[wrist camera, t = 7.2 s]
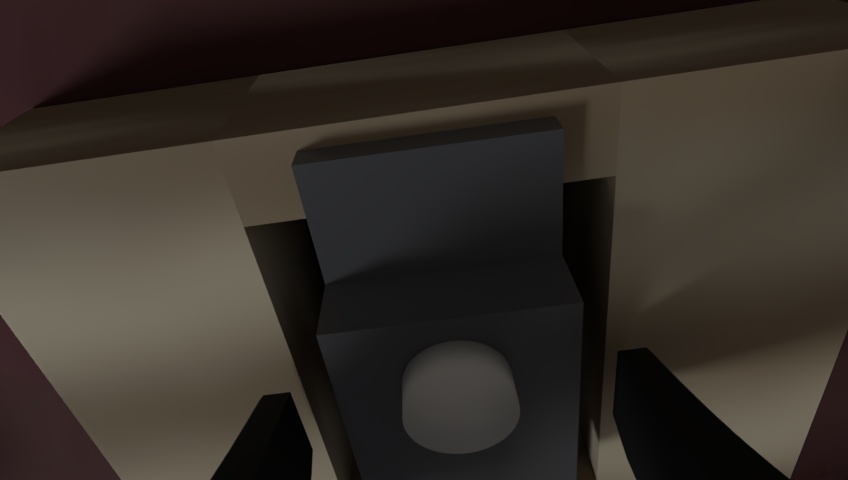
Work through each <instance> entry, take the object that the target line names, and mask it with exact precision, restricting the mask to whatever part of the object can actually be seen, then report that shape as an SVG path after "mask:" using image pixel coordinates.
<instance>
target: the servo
mask: <svg viewBox="0 0 848 480" xmlns="http://www.w3.org/2000/svg"><path fill="white" fill-rule="evenodd" d="M563 155H564V128H563V127H562V125H561V124H560V122H559V121H558V119H557V118H556V117H555V116H550V117H542V118H535V119H528V120H520V121H513V122H506V123H498V124H491V125H484V126H476V127H469V128H462V129H454V130H447V131H440V132H432V133H425V134H418V135H410V136H403V137H396V138H388V139H381V140H374V141H366V142H359V143H352V144H344V145H337V146H330V147H322V148H315V149H308V150H300V151H297V152H296V154H295V157H294V160H293V162H292V165H291V167H292V170H293V174H294V177H295V181H296V184H297V188H298V191H299V195H300V198H301V202H302V205H303V209H304V212H305V216H306V219H307V223H308V226H309V230H310V233H311V237H312V240H313V244H314V247H315V251H316V254H317V258H318V261H319V265H320V268H321V272H322V275H323V279H324V282H325V289H324V294H323V300H322V305H321V311H320V316H319V322H318V327H317V333H316V337H317V340H318V343H319V347H320V350H321V353H322V356H323V359H324V362H325V365H326V369H327V372H328V375H329V378H330V381H331V384H332V387H333V391H334V394H335V397H336V400H337V403H338V406H339V409H340V413H341V416H342V419H343V422H344V425H345V428H346V431H347V435H348V438H349V441H350V444H351V447H352V450H353V453H354V457H355V460H356V463H357V466H358V469H359V472H360V475H361V479H362V480H576V477H577V452H578V428H579V403H580V379H581V354H582V329H583V305H584V302H583V300H582V298H581V295H580V293H579V291H578V289H577V286H576V284H575V282H574V280H573V277H572V275H571V273H570V271H569V268H568V266H567V264H566V262H565V259H564V257H563V255H562V236H563Z"/></svg>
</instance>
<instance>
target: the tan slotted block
mask: <svg viewBox="0 0 848 480" xmlns="http://www.w3.org/2000/svg"><path fill="white" fill-rule="evenodd" d="M550 116H555V117H556V118H557V119H558V121H559V122H560V124H561V125H562V127H563V128H564V155H563V236H562V255H563V257H564V259H565V262H566V264H567V266H568V268H569V271H570V273H571V275H572V277H573V280H574V282H575V284H576V286H577V289H578V291H579V293H580V295H581V298H582V300H583V302H584V305H583V329H582V354H581V379H580V403H579V428H578V452H577V477H576V480H636V478H635V476H634V474H633V471H632V469H631V467H630V465H629V462H628V460H627V457H626V454H625V451H624V448H623V445H622V442H621V439H620V436H619V433H618V429H617V426H616V423H615V420H614V416H613V403H614V390H615V378H616V366H617V353H618V351H621V350H629V349H637V348H645V347H647V348H648V349H649V350H650V351H652V353H653V354H654V355H655V356H656V357H657V358H658V359H659V360H660V361H661V362H662V363H663V364H664V365H665V366H666V367H667V368H668V369H669V370H670V371H671V372H672V373H673V374H674V375H675V376H676V377H677V378H678V379H679V380H680V381H681V382H682V383H683V384H684V385H685V386H686V387H687V388H688V389H689V390H690V391H691V392H692V393H693V394H694V395H695V396H696V397H697V398H698V399H699V400H700V401H701V402H702V403H703V404H704V405H705V406H706V407H707V408H708V409H709V410H711V411H712V412H713V413H714V414H715V415H716V416H717V417H718V418H719V419H720V420H721V421H723V422H724V423H725V424H726V425H727V426H728V427H729V428H730V429H731V430H732V431H733V432H734V433H736V434H737V435H738V436H739V437H740V438H741V439H742V440H744V441H745V442H746V443H747V444H748V445H749V446H750V447H752V448H753V449H754V450H755V451H756V452H758V453H759V454H760V455H761V456H762V457H764V458H765V459H766V460H767V461H768V462H769V463H771V464H772V465H773V466H774V467H776V468H777V469H778V470H779V471H780V472H782V473H783V474H784V475H785V476H787V477H788V478H789V479H790V477H791V475H792V472H793V470H794V467H795V464H796V462H797V459H798V457H799V454H800V451H801V449H802V446H803V444H804V441H805V439H806V436H807V433H808V431H809V428H810V426H811V423H812V420H813V418H814V415H815V413H816V410H817V408H818V405H819V402H820V400H821V397H822V395H823V392H824V389H825V387H826V384H827V382H828V379H829V377H830V374H831V371H832V369H833V366H834V364H835V361H836V358H837V356H838V353H839V351H840V348H841V346H842V343H843V340H844V338H845V335H846V333H847V330H848V3H847V2H844V1H840V0H760V1H753V2H746V3H740V4H733V5H726V6H719V7H713V8H706V9H699V10H693V11H686V12H679V13H672V14H666V15H659V16H652V17H646V18H639V19H632V20H625V21H619V22H612V23H605V24H599V25H592V26H585V27H578V28H572V29H565V30H558V31H551V32H545V33H538V34H531V35H525V36H518V37H511V38H504V39H498V40H491V41H484V42H478V43H471V44H464V45H457V46H451V47H444V48H437V49H431V50H424V51H417V52H410V53H404V54H397V55H390V56H384V57H377V58H370V59H363V60H357V61H350V62H343V63H336V64H330V65H323V66H316V67H310V68H303V69H296V70H289V71H283V72H276V73H269V74H263V75H256V76H249V77H242V78H236V79H229V80H222V81H216V82H209V83H202V84H195V85H189V86H182V87H175V88H168V89H162V90H155V91H148V92H142V93H135V94H128V95H121V96H115V97H108V98H101V99H95V100H88V101H81V102H74V103H68V104H61V105H54V106H48V107H41V108H34V109H30V110H28V111H27V112H25V113H23V114H22V115H20V116H18V117H17V118H15V119H13V120H12V121H10V122H9V123H7V124H5V125H4V126H2V127H0V315H1V316H2V317H3V319H4V320H5V322H6V323H7V324H8V326H9V327H10V328H11V330H12V331H13V332H14V334H15V335H16V337H17V338H18V339H19V341H20V342H21V343H22V345H23V346H24V347H25V349H26V350H27V352H28V353H29V354H30V356H31V357H32V358H33V360H34V361H35V362H36V364H37V365H38V367H39V368H40V369H41V371H42V372H43V373H44V375H45V376H46V377H47V379H48V380H49V382H50V383H51V384H52V386H53V387H54V388H55V390H56V391H57V392H58V394H59V395H60V397H61V398H62V399H63V401H64V402H65V403H66V405H67V406H68V407H69V409H70V410H71V412H72V413H73V414H74V416H75V417H76V418H77V420H78V421H79V422H80V424H81V425H82V427H83V428H84V429H85V431H86V432H87V433H88V435H89V436H90V437H91V439H92V440H93V442H94V443H95V444H96V446H97V447H98V448H99V450H100V451H101V452H102V454H103V455H104V457H105V458H106V459H107V461H108V462H109V463H110V465H111V466H112V468H113V469H114V470H115V472H116V473H117V474H118V476H119V477H120V478H121V480H210V479H211V477H212V476H213V474H214V473H215V471H216V470H217V468H218V467H219V465H220V464H221V462H222V461H223V459H224V457H225V456H226V454H227V453H228V451H229V450H230V448H231V446H232V445H233V443H234V441H235V440H236V438H237V437H238V435H239V433H240V432H241V430H242V428H243V427H244V425H245V423H246V422H247V420H248V418H249V417H250V415H251V413H252V412H253V410H254V408H255V407H256V405H257V403H258V402H259V400H260V399H261V398H262V396H263V395H270V394H278V393H286V392H290V393H291V395H292V398H293V400H294V403H295V405H296V408H297V410H298V413H299V416H300V418H301V421H302V423H303V426H304V428H305V431H306V433H307V436H308V438H309V441H310V444H311V446H312V449H313V458H312V477H311V480H362V479H361V475H360V472H359V469H358V466H357V463H356V460H355V457H354V453H353V450H352V447H351V444H350V441H349V438H348V435H347V431H346V428H345V425H344V422H343V419H342V416H341V413H340V409H339V406H338V403H337V400H336V397H335V394H334V391H333V387H332V384H331V381H330V378H329V375H328V372H327V369H326V365H325V362H324V359H323V356H322V353H321V350H320V347H319V343H318V340H317V337H316V333H317V327H318V322H319V316H320V311H321V305H322V300H323V294H324V288H323V285H322V282H321V278H320V275H319V272H318V268H317V265H316V261H315V258H314V255H313V251H312V248H311V245H310V241H309V238H308V235H307V231H306V228H305V225H304V221H303V219H306V216H305V212H304V209H303V205H302V202H301V198H300V195H299V191H298V188H297V184H296V181H295V177H294V174H293V170H292V167H291V165H292V162H293V160H294V157H295V154H296V152H297V151H300V150H308V149H315V148H322V147H330V146H337V145H344V144H352V143H359V142H366V141H374V140H381V139H388V138H396V137H403V136H410V135H418V134H425V133H432V132H440V131H447V130H454V129H462V128H469V127H476V126H484V125H491V124H498V123H506V122H513V121H520V120H528V119H535V118H542V117H550Z"/></svg>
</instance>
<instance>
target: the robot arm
mask: <svg viewBox="0 0 848 480" xmlns="http://www.w3.org/2000/svg"><path fill="white" fill-rule="evenodd" d="M613 416H614V420H615V423H616V426H617V429H618V433H619V436H620V439H621V442H622V445H623V448H624V451H625V454H626V457H627V460H628V462H629V465H630V467H631V469H632V471H633V474H634V476H635V478H636V480H790V479H789V478H788V477H787V476H785V475H784V474H783V473H782V472H780V471H779V470H778V469H777V468H776V467H774V466H773V465H772V464H771V463H769V462H768V461H767V460H766V459H765V458H764V457H762V456H761V455H760V454H759V453H758V452H756V451H755V450H754V449H753V448H752V447H750V446H749V445H748V444H747V443H746V442H745V441H744V440H742V439H741V438H740V437H739V436H738V435H737V434H736V433H734V432H733V431H732V430H731V429H730V428H729V427H728V426H727V425H726V424H725V423H724V422H723V421H721V420H720V419H719V418H718V417H717V416H716V415H715V414H714V413H713V412H712V411H711V410H709V409H708V408H707V407H706V406H705V405H704V404H703V403H702V402H701V401H700V400H699V399H698V398H697V397H696V396H695V395H694V394H693V393H692V392H691V391H690V390H689V389H688V388H687V387H686V386H685V385H684V384H683V383H682V382H681V381H680V380H679V379H678V378H677V377H676V376H675V375H674V374H673V373H672V372H671V371H670V370H669V369H668V368H667V367H666V366H665V365H664V364H663V363H662V362H661V361H660V360H659V359H658V358H657V357H656V356H655V355H654V354H653V353H652V351H650V350H649V349H648V348H647V347H645V348H637V349H629V350H621V351H618V353H617V366H616V378H615V390H614V403H613ZM312 458H313V449H312V446H311V444H310V441H309V438H308V436H307V433H306V431H305V428H304V426H303V423H302V421H301V418H300V416H299V413H298V410H297V408H296V405H295V403H294V400H293V398H292V395H291V393H290V392H286V393H278V394H270V395H263V396H262V398H261V399H260V400H259V402H258V403H257V405H256V407H255V408H254V410H253V412H252V413H251V415H250V417H249V418H248V420H247V422H246V423H245V425H244V427H243V428H242V430H241V432H240V433H239V435H238V437H237V438H236V440H235V441H234V443H233V445H232V446H231V448H230V450H229V451H228V453H227V454H226V456H225V457H224V459H223V461H222V462H221V464H220V465H219V467H218V468H217V470H216V471H215V473H214V474H213V476H212V477H211V479H210V480H311V477H312Z"/></svg>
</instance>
